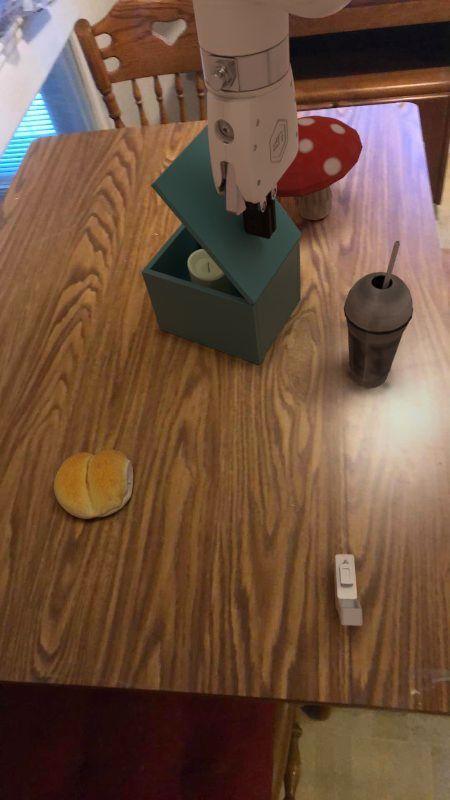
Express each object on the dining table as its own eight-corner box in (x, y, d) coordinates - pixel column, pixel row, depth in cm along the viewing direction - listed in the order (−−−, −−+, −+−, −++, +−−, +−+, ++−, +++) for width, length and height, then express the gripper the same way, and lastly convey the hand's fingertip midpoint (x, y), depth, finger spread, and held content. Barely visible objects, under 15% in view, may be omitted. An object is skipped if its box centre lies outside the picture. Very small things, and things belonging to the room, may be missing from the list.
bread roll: (63, 460, 68) (51, 444, 65) (136, 453, 68) (127, 436, 64) (54, 525, 64) (40, 511, 60) (132, 518, 63) (122, 503, 60)
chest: (159, 329, 79) (140, 271, 70) (205, 270, 84) (192, 209, 75) (259, 365, 73) (252, 307, 64) (300, 299, 79) (299, 237, 70)
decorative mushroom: (300, 263, 83) (298, 172, 70) (235, 214, 91) (224, 124, 79) (380, 213, 87) (391, 118, 74) (311, 170, 95) (311, 78, 83)
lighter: (333, 568, 57) (336, 540, 51) (351, 568, 57) (356, 540, 50) (337, 643, 53) (341, 623, 47) (356, 644, 53) (363, 623, 46)
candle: (240, 300, 79) (233, 254, 72) (218, 323, 77) (210, 278, 70) (211, 287, 81) (202, 242, 74) (190, 309, 79) (179, 265, 72)
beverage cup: (327, 366, 72) (333, 240, 55) (375, 341, 73) (395, 212, 56) (361, 406, 68) (378, 284, 51) (411, 380, 69) (443, 253, 52)
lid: (150, 185, 57) (154, 182, 56) (211, 119, 63) (216, 115, 62) (250, 305, 64) (254, 303, 63) (297, 235, 70) (302, 233, 69)
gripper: (243, 111, 44) (260, 285, 59) (321, 23, 50) (319, 199, 65) (162, 97, 46) (198, 266, 61) (247, 15, 53) (261, 186, 68)
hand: (260, 231), depth 63 cm, fingers closed
